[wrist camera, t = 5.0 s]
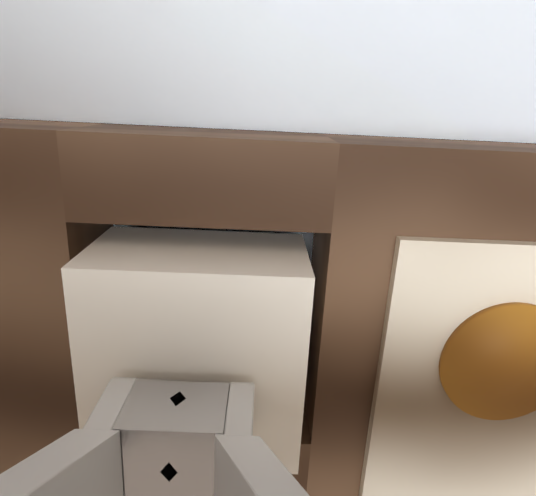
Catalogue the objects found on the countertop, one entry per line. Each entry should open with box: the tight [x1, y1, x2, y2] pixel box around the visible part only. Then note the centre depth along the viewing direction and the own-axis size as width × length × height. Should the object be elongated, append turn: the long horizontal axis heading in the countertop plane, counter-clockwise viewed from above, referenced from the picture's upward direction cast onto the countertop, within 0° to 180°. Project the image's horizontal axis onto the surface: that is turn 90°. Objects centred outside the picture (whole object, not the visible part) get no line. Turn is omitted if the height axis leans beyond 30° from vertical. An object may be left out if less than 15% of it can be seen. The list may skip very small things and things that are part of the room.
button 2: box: [61, 226, 315, 474], centre depth 11 cm, size 5×5×3 cm
